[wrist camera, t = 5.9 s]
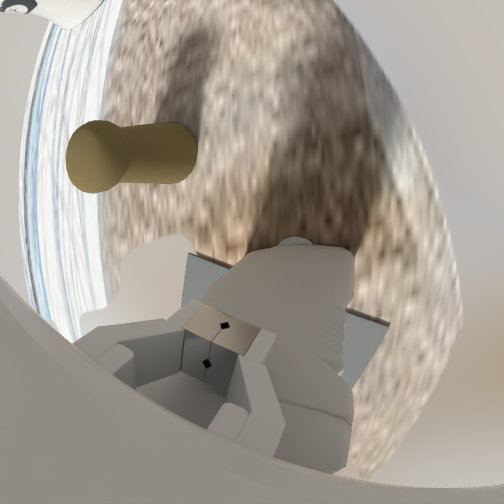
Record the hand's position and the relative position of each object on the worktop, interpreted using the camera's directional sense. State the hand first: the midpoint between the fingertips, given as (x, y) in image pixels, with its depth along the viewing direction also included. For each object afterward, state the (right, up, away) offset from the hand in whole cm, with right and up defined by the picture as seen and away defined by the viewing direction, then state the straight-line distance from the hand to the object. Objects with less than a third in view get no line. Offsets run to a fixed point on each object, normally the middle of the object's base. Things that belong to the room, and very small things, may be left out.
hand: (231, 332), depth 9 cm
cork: (-7, +12, +16) cm, 21 cm away
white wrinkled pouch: (+4, +2, +15) cm, 16 cm away
